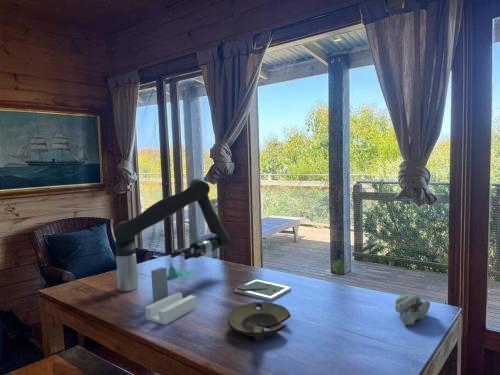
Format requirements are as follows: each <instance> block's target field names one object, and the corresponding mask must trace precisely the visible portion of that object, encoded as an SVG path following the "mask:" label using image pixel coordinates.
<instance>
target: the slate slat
mask: <svg viewBox="0 0 500 375" xmlns="http://www.w3.org/2000/svg"><path fill="white" fill-rule="evenodd" d="M167 271H168V269H167V267H159V268H156V269H154V270H151V271H150V273H151V274H150V275H151V276H150V277H151V287H152V288H151V289H152V300H153V301H152V304H153V303H155V302H157V301H159V300H162V299H164V298H166V297H168V296H169V291H168V290H169V288H168V280H167V276H168V274H167V273H168V272H167Z"/></svg>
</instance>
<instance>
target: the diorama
mask: <svg viewBox="0 0 500 375" xmlns="http://www.w3.org/2000/svg"><path fill="white" fill-rule="evenodd" d="M169 265H170V266H169V267H168V274H167V281H176V280H181V279H184V278H185V279H186V278H187V277H190V276H192V275H193V274H194V273H195V271H193V270H181V271H179V270H178V269H177V267H175V265H174V264H173V261H172V262H170V264H169Z"/></svg>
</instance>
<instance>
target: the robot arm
mask: <svg viewBox="0 0 500 375" xmlns="http://www.w3.org/2000/svg"><path fill="white" fill-rule="evenodd" d="M210 189H211V188H210V185H209V183H208V182H207V181H205V180H204V179H202V178H194V179H192V180H191V182H190V184H189V187H187V188H186V189H185V190H183V191H181V192H179V193H176V194H173V195H169V196H167V197H163V199H160V200H158V201H157V202H155V203H153V204H152V205H151V206H149V207H147V208H146V209H145V210H144V211H142V212H141V213H140V214H139V215H137V216H135V217H133V218H131V219H129V220H122V221H120V222H118V223H117V224H116V225H115V227H114V230H113V235H114V236H113V237H114V238H115V257H116V258H115V260H116V270H115V272H116V275H115V276H116V285H117V286H116V288H117V289H118V291H119V292H130V291H134V290H136V289H138V287H139V280H138V264H137V252H136V251H137V250H136V247H137V246H136V236H137V235H138V234H140V233H141V232H143V231H144V230H146V229H148V228H150V227H152V226H155V225H156V224H158V223H160V222H162V221H164V220H165V219H167V218H169V217H171V216H173V215H174V214H176V213H178V212H179V211H180V210H182V209H184V208H185V207H187V206H189V205H191V204H193V203H194V202H197V203H198V206H199V207H200V210H201V214H202V216H203V218H204V221H205V222H206V225H207V228H208V231H209V232H210V233H211V234H214V235H212V236H210V237H208V238H205V239H201V240H198V241H195V242H192V243H191V244H190V245H189V247H185V248H184V247H180V248H177V249H174V250H173V252H171V253H170V258H171V259H173V258H176V257H183V259H184V260H185V261H187V260H189V259H194V258H195V259H198V258H201V257H203V256H206V255H208V254H210V253H213V252H214V251H216V250H217V249H220V248H228V247H230V246H231V240H232V239H231V237H230V235H229V232H227V230H226V229H225V227H224V226H223V225H222V223H221V221H220V218H219V215H218V214H217V211H216V209H215V208H214V206H213V203H212V202H211V199H210V197H209V192H210Z"/></svg>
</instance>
